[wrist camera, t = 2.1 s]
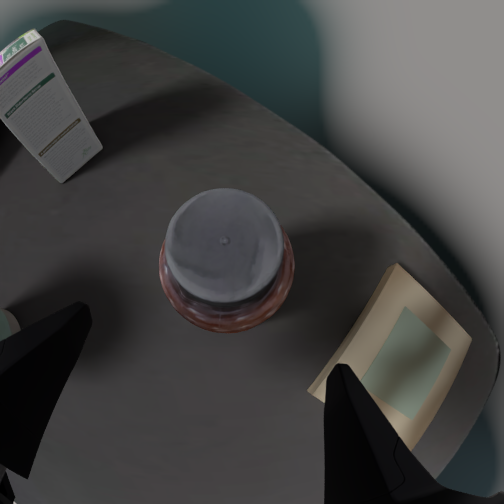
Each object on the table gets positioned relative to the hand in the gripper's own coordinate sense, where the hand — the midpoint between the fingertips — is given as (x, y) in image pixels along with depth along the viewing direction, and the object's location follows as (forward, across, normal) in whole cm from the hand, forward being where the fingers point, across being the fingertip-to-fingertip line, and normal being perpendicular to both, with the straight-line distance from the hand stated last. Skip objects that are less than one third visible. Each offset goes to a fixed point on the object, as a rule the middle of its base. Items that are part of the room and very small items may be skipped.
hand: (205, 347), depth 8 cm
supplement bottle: (+10, 0, +5) cm, 11 cm away
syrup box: (+17, +19, -2) cm, 25 cm away
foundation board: (+7, -15, +8) cm, 18 cm away
